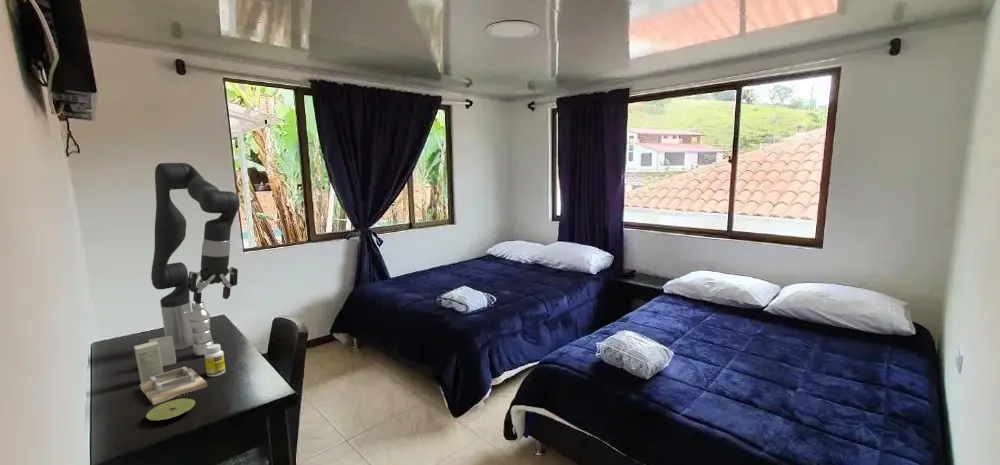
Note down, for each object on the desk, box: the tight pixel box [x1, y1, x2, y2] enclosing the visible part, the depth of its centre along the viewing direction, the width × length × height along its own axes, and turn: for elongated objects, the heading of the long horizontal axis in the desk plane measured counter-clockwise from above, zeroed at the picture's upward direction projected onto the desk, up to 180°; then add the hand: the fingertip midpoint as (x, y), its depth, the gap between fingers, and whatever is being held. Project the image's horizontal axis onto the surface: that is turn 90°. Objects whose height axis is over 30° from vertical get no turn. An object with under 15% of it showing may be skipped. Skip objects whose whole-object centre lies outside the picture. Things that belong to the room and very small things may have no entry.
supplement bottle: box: [204, 343, 226, 377], centre depth 150 cm, size 5×5×10 cm
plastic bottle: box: [189, 301, 215, 357], centre depth 165 cm, size 6×7×20 cm
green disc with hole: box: [145, 398, 196, 421], centre depth 125 cm, size 11×11×2 cm
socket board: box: [139, 366, 208, 406], centre depth 141 cm, size 16×14×4 cm
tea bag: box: [148, 336, 177, 367], centre depth 158 cm, size 4×7×10 cm, turn 123°
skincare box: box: [133, 341, 165, 384], centre depth 146 cm, size 6×4×12 cm
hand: (211, 300), depth 144 cm, fingers open, 8 cm apart
